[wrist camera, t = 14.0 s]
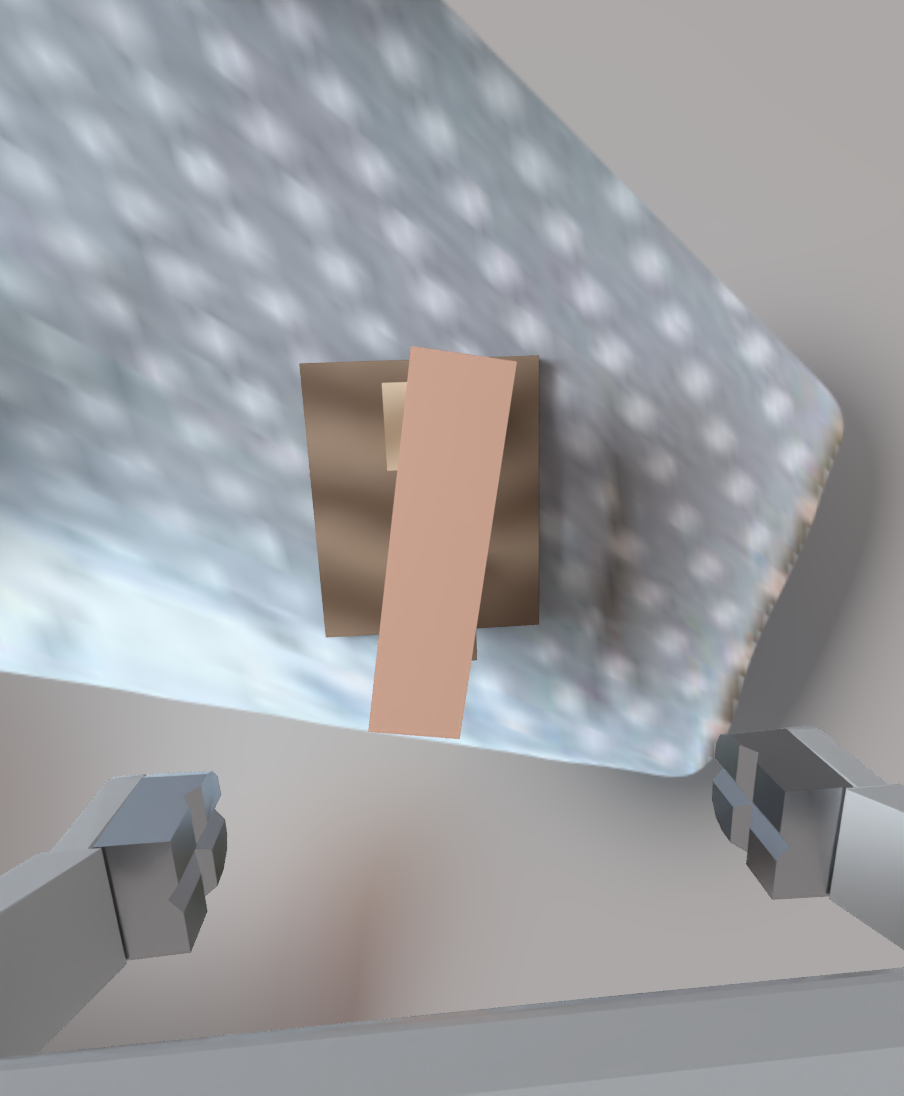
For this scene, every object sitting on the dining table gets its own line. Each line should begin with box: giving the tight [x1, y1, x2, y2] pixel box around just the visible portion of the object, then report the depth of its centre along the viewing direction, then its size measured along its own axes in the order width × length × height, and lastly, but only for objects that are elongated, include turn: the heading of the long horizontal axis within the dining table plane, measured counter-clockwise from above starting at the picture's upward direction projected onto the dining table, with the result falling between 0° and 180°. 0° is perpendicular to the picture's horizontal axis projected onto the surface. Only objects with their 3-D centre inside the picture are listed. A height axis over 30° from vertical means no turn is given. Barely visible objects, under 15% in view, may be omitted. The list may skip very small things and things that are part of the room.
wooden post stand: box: [300, 355, 539, 661], centre depth 33 cm, size 17×14×10 cm
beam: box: [368, 346, 517, 739], centre depth 26 cm, size 16×4×5 cm, turn 172°
